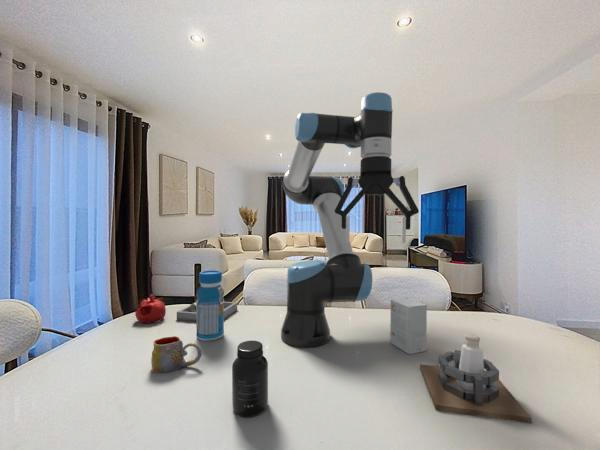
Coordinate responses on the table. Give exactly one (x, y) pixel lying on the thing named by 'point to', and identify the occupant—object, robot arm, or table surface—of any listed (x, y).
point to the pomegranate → (150, 310)
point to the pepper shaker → (471, 359)
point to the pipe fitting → (193, 307)
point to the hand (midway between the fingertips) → (374, 242)
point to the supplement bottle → (249, 380)
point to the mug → (171, 354)
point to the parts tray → (192, 316)
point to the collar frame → (468, 379)
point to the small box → (408, 325)
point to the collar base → (448, 402)
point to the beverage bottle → (210, 306)
